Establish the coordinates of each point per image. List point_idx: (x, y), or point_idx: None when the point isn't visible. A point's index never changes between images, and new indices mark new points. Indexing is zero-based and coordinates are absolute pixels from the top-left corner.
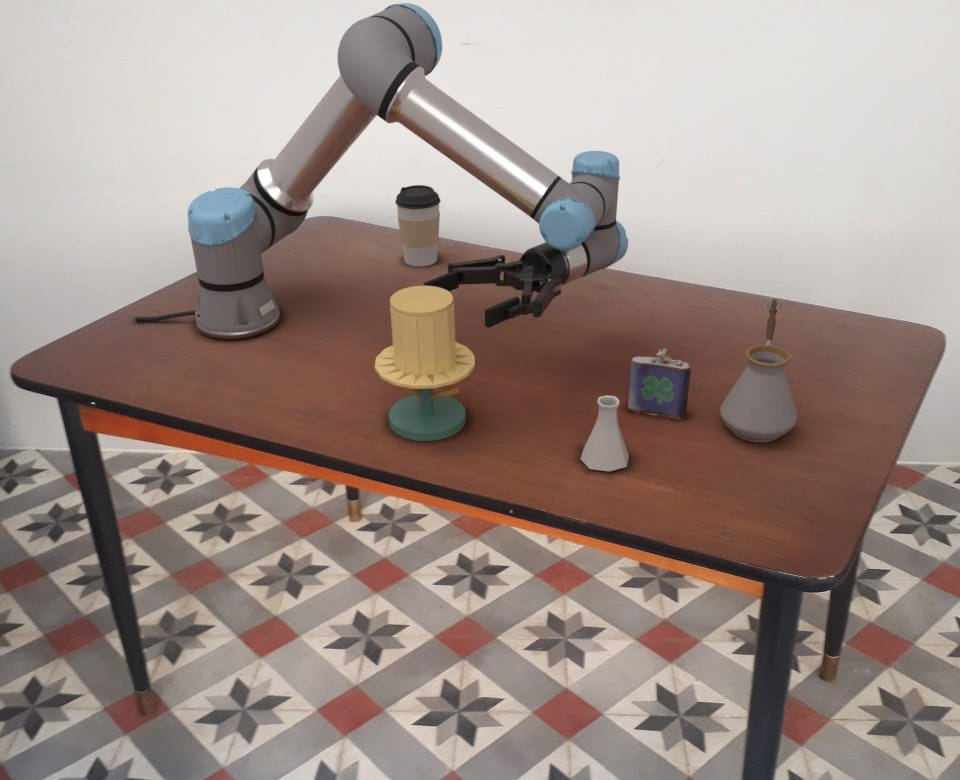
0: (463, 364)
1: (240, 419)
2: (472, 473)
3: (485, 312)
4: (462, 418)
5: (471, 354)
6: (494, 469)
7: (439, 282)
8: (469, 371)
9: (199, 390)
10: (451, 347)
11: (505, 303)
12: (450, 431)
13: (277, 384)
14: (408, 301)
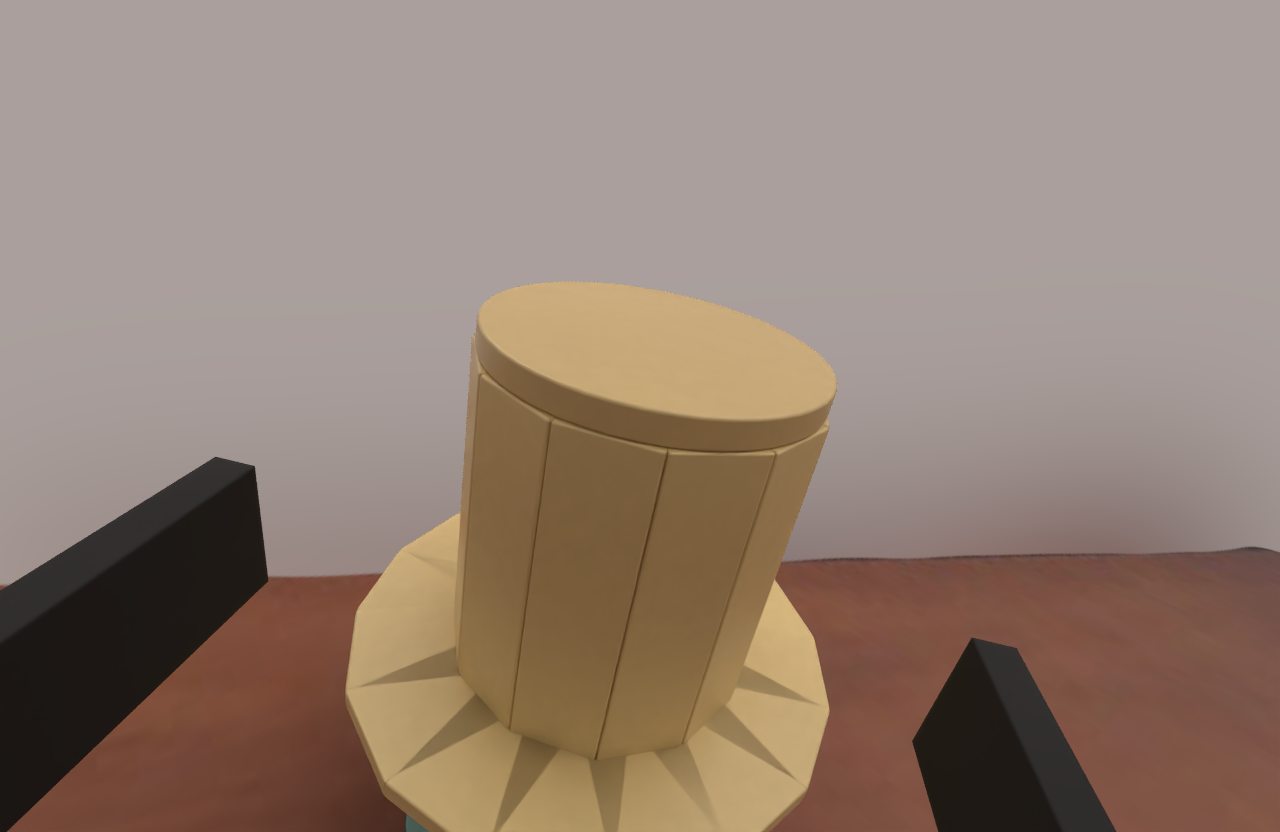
0: (407, 664)
1: (931, 591)
2: (282, 633)
3: (248, 483)
4: (409, 828)
5: (405, 777)
6: (206, 674)
7: (1018, 803)
8: (353, 634)
9: (1118, 637)
10: (460, 547)
11: (3, 595)
12: None
13: (1086, 748)
14: (689, 319)
